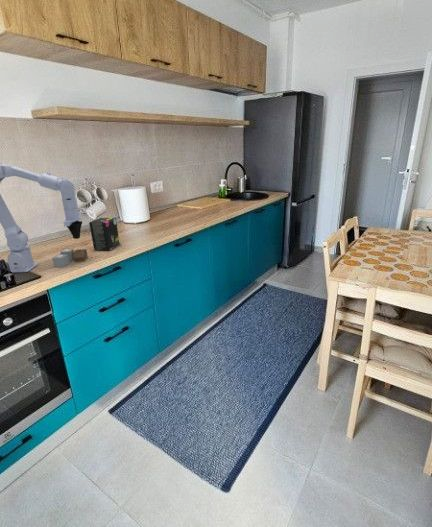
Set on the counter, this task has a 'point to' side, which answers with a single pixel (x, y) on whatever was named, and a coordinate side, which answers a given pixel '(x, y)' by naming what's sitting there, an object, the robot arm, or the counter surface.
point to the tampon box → (104, 234)
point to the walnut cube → (80, 255)
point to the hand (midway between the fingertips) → (77, 238)
